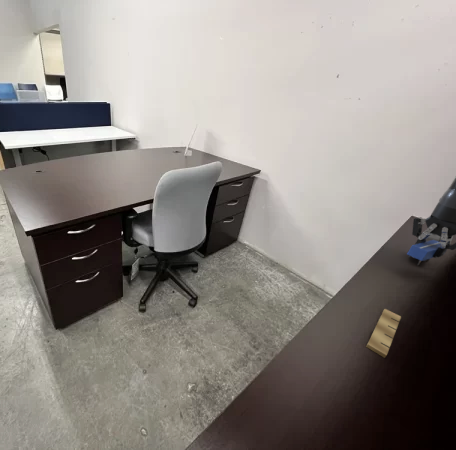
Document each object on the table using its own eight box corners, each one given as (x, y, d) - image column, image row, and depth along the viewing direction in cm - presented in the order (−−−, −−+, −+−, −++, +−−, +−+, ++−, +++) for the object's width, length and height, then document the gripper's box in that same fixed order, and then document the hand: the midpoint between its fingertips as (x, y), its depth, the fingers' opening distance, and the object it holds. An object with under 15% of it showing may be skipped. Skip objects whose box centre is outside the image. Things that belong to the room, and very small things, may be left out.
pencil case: (428, 248, 83) (434, 239, 81) (443, 254, 79) (450, 245, 78) (406, 254, 79) (412, 244, 77) (421, 261, 76) (428, 251, 74)
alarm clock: (423, 269, 86) (451, 229, 79) (403, 261, 90) (428, 223, 82) (427, 258, 93) (453, 221, 85) (408, 252, 96) (431, 215, 89)
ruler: (383, 311, 67) (384, 308, 67) (399, 319, 65) (401, 316, 64) (365, 346, 57) (368, 343, 56) (384, 358, 55) (387, 355, 54)
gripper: (500, 213, 66) (462, 263, 74) (433, 195, 78) (407, 240, 86) (486, 216, 64) (448, 268, 72) (419, 197, 76) (393, 244, 84)
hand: (426, 252), depth 79 cm, fingers closed on pencil case, 4 cm apart
